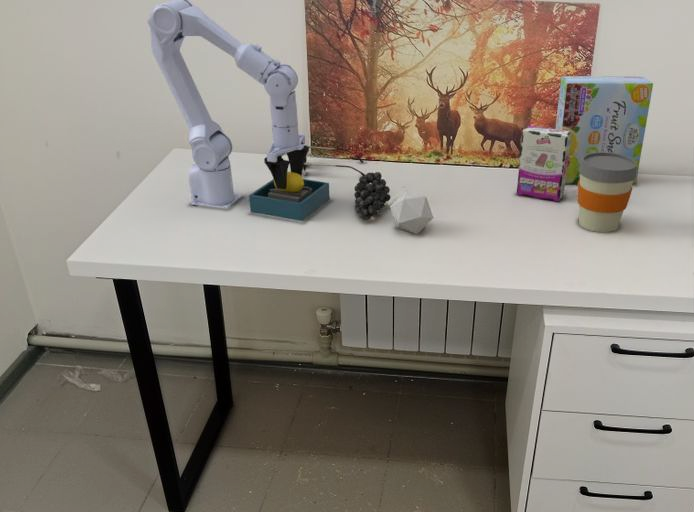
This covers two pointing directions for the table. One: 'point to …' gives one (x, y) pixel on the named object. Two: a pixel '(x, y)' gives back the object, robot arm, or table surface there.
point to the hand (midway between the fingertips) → (289, 182)
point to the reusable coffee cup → (604, 189)
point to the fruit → (370, 195)
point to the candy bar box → (543, 162)
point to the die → (411, 212)
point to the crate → (289, 208)
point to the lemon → (293, 183)
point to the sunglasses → (332, 165)
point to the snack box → (603, 117)
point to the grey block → (290, 194)
